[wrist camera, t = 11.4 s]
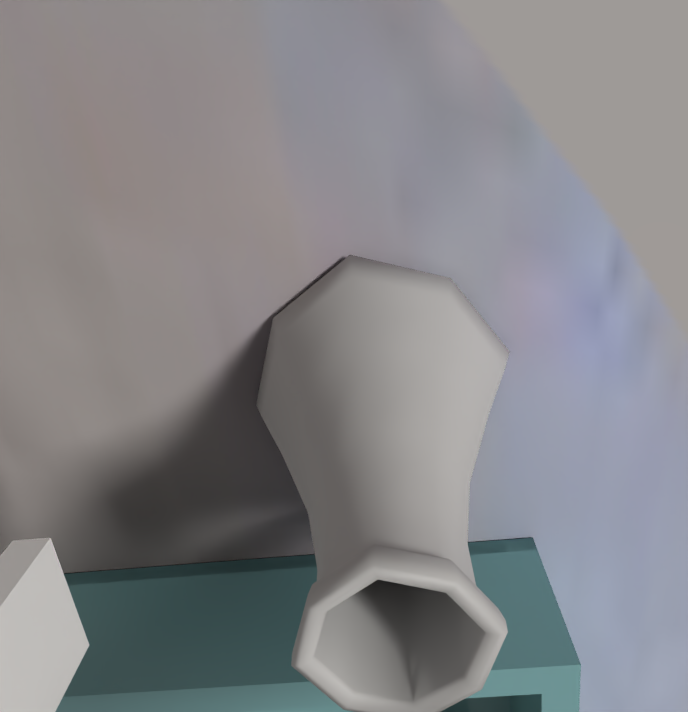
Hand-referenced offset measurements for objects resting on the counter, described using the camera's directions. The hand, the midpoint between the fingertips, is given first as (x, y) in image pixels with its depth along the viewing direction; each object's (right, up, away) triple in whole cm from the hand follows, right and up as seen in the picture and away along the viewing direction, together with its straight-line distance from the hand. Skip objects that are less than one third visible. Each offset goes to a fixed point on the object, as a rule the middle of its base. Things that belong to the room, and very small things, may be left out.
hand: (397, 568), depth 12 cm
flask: (0, +4, +7) cm, 8 cm away
